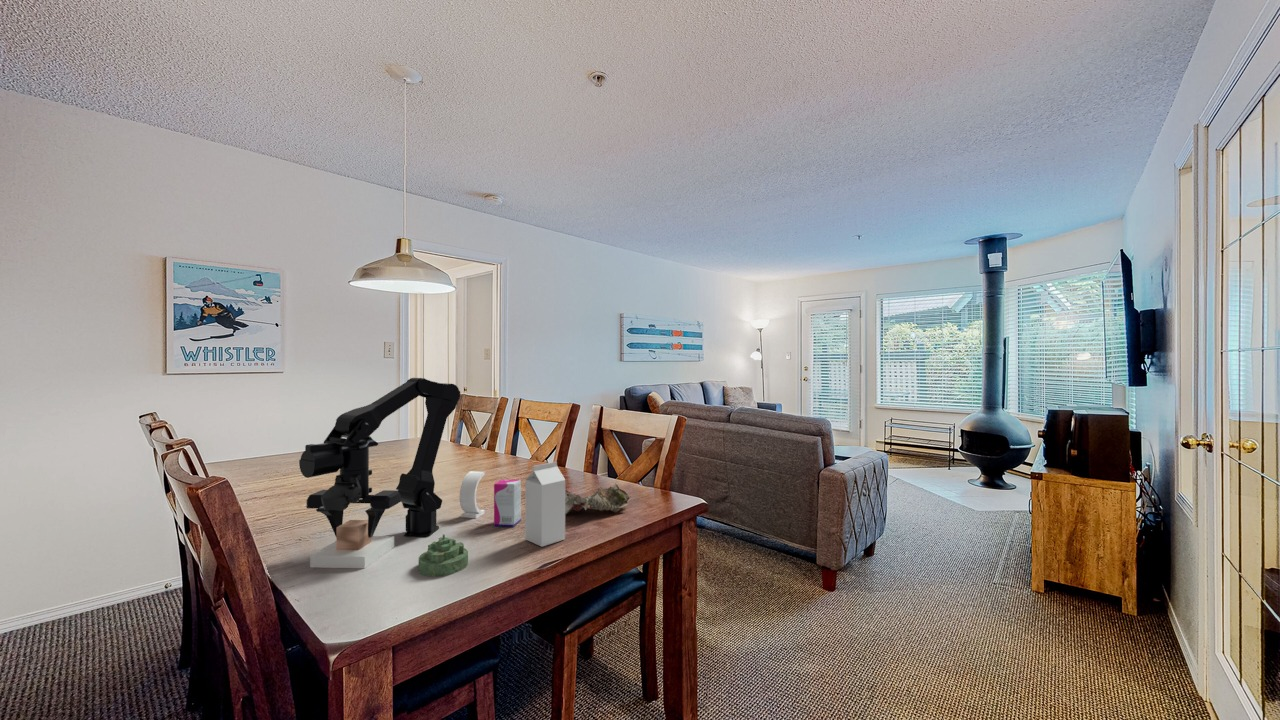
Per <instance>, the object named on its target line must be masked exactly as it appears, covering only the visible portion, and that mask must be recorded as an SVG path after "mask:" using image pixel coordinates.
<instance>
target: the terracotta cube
mask: <svg viewBox="0 0 1280 720" xmlns="http://www.w3.org/2000/svg"><path fill="white" fill-rule="evenodd" d="M335 537H336V538H335V539H336V540H335V541H336V550H360V549H361V548H363V547H364V546H366V545H367V544H369V543H370V542H371V538H369V537H368V519H366V520H365V519H364V520H363V519H362V520H361V519H350V520H348V521H346V522H344V523H342V525H340V526H338V527H336V536H335Z"/></svg>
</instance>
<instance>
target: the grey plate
mask: <svg viewBox="0 0 1280 720" xmlns="http://www.w3.org/2000/svg"><path fill="white" fill-rule="evenodd" d="M394 548H395V536H387V535H385V536H384V535H383V536H378V535H376V536H375V535H373V536H372V537H371V542H370V543H369V544H367V545H366V546H364V547H363V548H361V549H360V550H336V540H335V541H333V542H332V543H330V544H328V545H326V546H325V547H323V548H321V549H319V550H318V551H316V552H314V553H312V554H311V555H310V556H309V568H321V569H324V568H325V569H366V568H367V567H369V566H370V565H372V564H373V563H374V562H375V561H377V560H379V559H380V558H381V557H382V556H384V555H385V554H387V553H388V552H390V550H392V549H394Z"/></svg>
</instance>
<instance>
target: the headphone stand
mask: <svg viewBox="0 0 1280 720" xmlns="http://www.w3.org/2000/svg"><path fill="white" fill-rule="evenodd" d="M485 475H486V471H477V470H476V471H475V470H470V471H468V472H467V474H465V476H464V478H463V480H462V482H461V485H460V488H459V489H460V490H459V504H460V508H461V510H462V511H463V513H462V514H461V518H467V519H477V518H479V517H481V516H482V515H484V514H486V510H485V509H480V508H479V506H478V504H477V492H478V491H477V489H478V486H479V483H480V481H481V479H482V478H483V477H484V476H485Z"/></svg>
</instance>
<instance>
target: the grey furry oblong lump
mask: <svg viewBox="0 0 1280 720" xmlns="http://www.w3.org/2000/svg"><path fill="white" fill-rule="evenodd" d="M631 497H632V496H631V495H629V494H628V493H627V491H625V490H623V489H622V488H620V487H619V485H618V484H617V483H616V482H615V484H614V486H610V487H608V488H604V487H601V486H600V487H599V488H596V490H594V492H593V493H592V494H591V495H589V494H588V495H587V496H586V497H582V496H580V495H579V494H575V493H572V492H570V491H568V490H567V489H565V516H567V514H569V513H570V512H571V511H573V510H575V511H576V512H580V511H581V510H582V509H584V510H585V511H586V510H587V508H588V506H589V509H592V510H599V511H600V512H602V511H603V510H606V511H611V512H614V513H615V514H617V513H618V511H620V509H621V508H624V507H626V506H629V503H628V501H629V500H630V498H631Z"/></svg>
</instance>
